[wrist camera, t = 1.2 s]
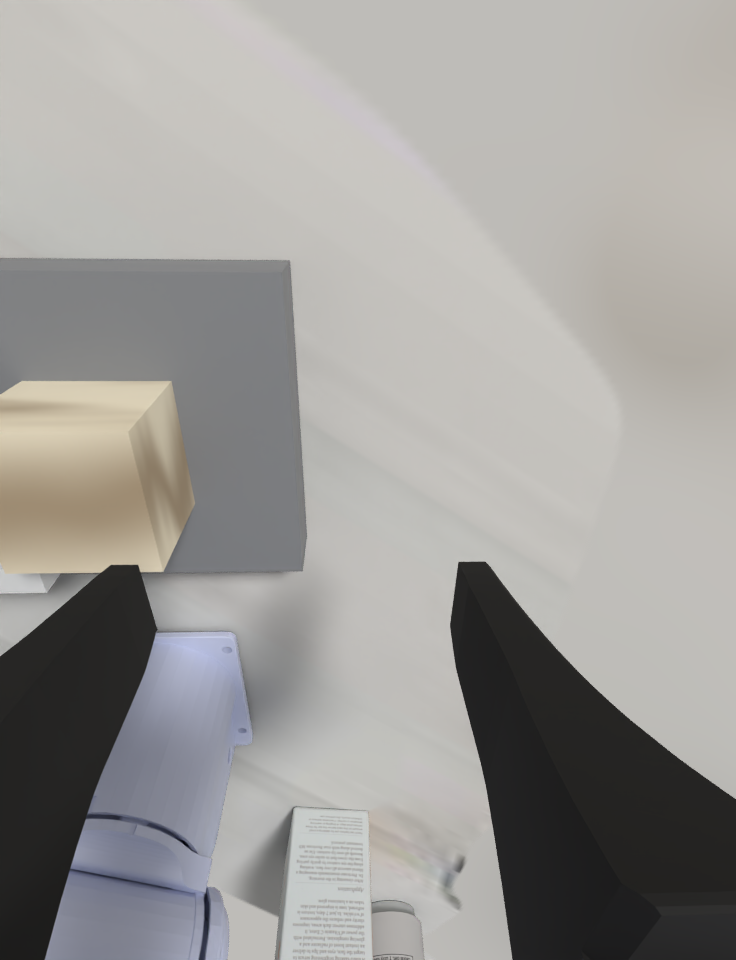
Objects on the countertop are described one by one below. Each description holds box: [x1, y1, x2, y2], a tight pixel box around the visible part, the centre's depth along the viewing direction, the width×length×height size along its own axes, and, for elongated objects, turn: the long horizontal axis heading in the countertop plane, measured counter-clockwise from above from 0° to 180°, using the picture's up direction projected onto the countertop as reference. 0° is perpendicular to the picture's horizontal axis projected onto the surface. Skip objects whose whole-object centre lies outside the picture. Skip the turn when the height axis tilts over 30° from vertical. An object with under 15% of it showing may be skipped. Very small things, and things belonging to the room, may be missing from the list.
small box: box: [275, 807, 373, 960], centre depth 34 cm, size 8×6×10 cm
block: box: [0, 381, 195, 574], centre depth 17 cm, size 5×5×4 cm
